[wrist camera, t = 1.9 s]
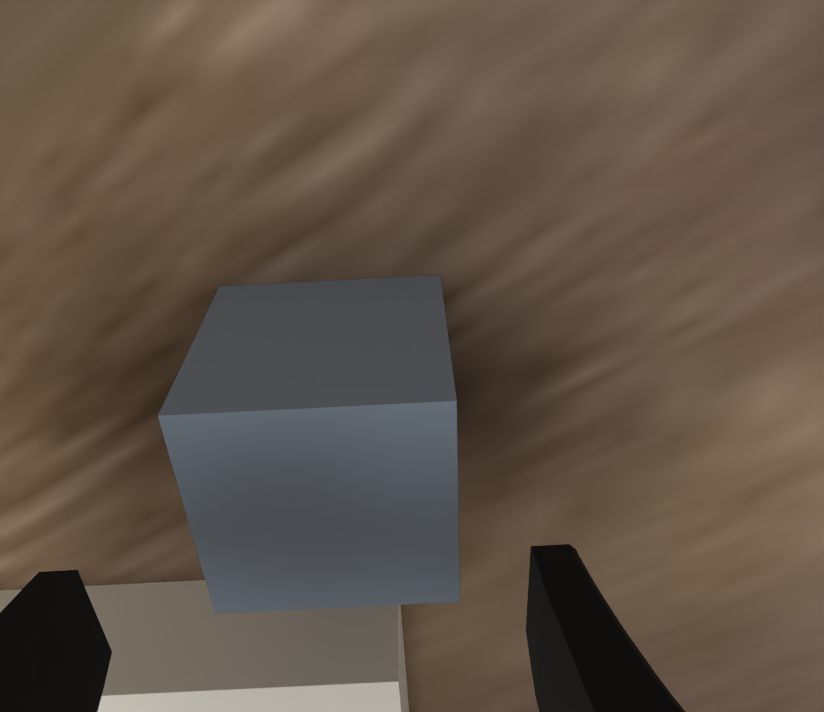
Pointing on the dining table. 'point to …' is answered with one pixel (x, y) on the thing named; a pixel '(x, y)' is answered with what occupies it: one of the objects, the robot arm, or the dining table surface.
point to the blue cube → (320, 445)
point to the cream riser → (244, 654)
